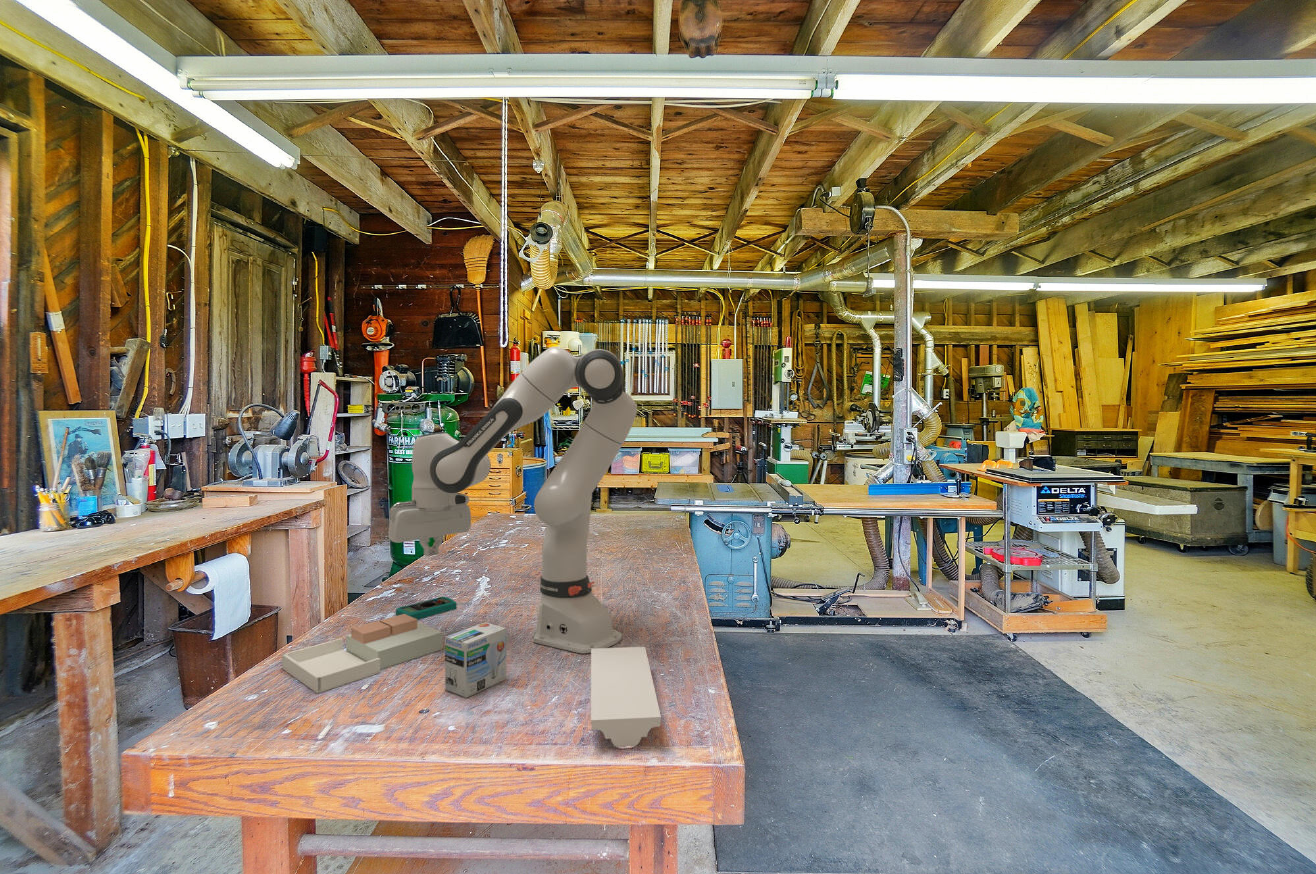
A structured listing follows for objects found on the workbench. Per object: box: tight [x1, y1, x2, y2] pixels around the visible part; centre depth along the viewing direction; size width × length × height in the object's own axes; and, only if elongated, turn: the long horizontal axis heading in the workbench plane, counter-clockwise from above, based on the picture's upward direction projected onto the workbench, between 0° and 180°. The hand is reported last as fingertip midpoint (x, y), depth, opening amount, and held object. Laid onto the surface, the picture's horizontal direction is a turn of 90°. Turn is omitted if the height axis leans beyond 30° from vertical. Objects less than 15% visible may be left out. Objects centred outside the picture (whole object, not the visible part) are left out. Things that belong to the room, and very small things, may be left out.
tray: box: [281, 637, 381, 694], centre depth 126 cm, size 18×12×3 cm
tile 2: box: [379, 614, 418, 636], centre depth 140 cm, size 6×6×2 cm
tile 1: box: [350, 620, 390, 644], centre depth 135 cm, size 6×6×2 cm
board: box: [345, 621, 443, 670], centre depth 137 cm, size 15×15×4 cm
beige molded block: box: [590, 646, 662, 748], centre depth 113 cm, size 12×30×5 cm, turn 6°
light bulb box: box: [444, 622, 507, 698], centre depth 120 cm, size 11×7×11 cm, turn 148°
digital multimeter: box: [395, 596, 458, 621], centre depth 164 cm, size 7×15×3 cm, turn 142°
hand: (431, 555), depth 146 cm, fingers closed
